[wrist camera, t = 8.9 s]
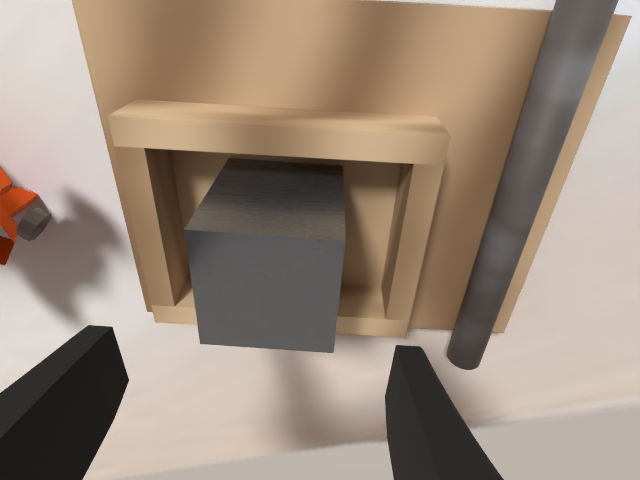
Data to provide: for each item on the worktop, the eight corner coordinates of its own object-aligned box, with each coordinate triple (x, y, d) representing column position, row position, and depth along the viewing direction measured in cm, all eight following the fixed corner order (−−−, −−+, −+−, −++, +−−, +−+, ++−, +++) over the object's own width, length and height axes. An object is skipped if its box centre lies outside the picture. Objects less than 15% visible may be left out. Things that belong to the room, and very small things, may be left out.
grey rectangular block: (343, 165, 16) (345, 240, 11) (334, 259, 18) (333, 352, 14) (228, 157, 16) (183, 229, 11) (235, 252, 18) (200, 343, 14)
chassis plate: (623, -21, 13) (702, -23, 10) (490, 330, 22) (513, 382, 19) (79, -52, 13) (9, -62, 11) (159, 310, 22) (132, 359, 19)
